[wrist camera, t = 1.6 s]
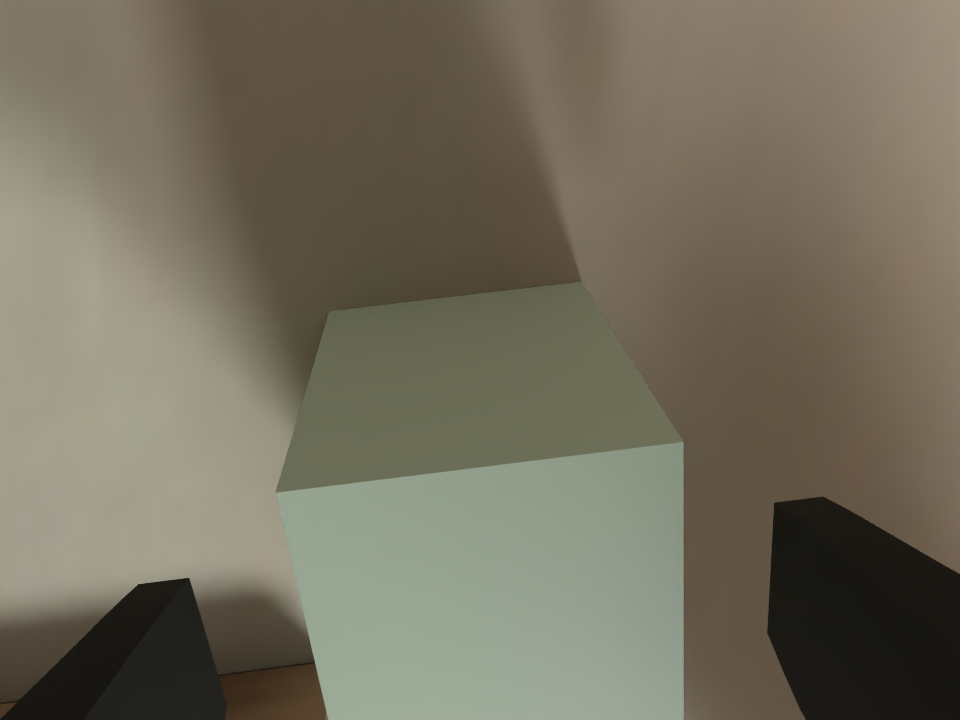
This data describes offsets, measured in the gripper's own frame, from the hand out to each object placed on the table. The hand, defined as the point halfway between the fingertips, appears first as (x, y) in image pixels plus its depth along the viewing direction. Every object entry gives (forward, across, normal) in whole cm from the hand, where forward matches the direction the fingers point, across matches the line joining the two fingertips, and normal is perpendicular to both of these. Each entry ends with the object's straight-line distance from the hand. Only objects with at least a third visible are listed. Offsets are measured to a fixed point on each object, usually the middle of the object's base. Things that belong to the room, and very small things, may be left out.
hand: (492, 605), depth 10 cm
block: (+6, 0, 0) cm, 6 cm away
